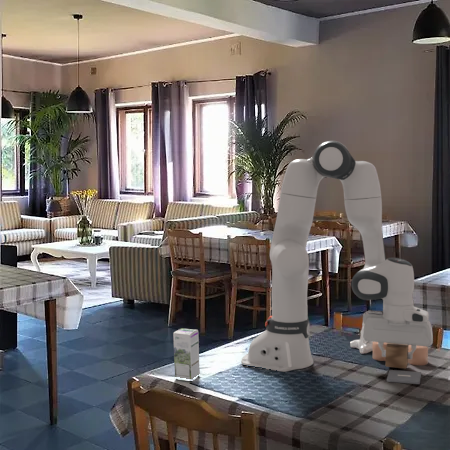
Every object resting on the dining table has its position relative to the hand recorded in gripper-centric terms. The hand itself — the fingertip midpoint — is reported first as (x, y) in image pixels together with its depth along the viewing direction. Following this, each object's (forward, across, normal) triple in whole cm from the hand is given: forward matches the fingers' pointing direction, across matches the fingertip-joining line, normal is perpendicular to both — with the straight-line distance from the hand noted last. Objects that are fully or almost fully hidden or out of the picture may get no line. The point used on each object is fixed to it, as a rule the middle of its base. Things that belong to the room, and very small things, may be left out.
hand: (397, 357), depth 205 cm
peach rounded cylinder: (+3, +6, +8) cm, 10 cm away
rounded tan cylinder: (+4, -6, +10) cm, 12 cm away
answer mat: (+3, +3, -8) cm, 9 cm away
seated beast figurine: (+4, -12, +19) cm, 22 cm away
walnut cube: (+2, 0, 0) cm, 2 cm away
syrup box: (+5, -58, -26) cm, 63 cm away
